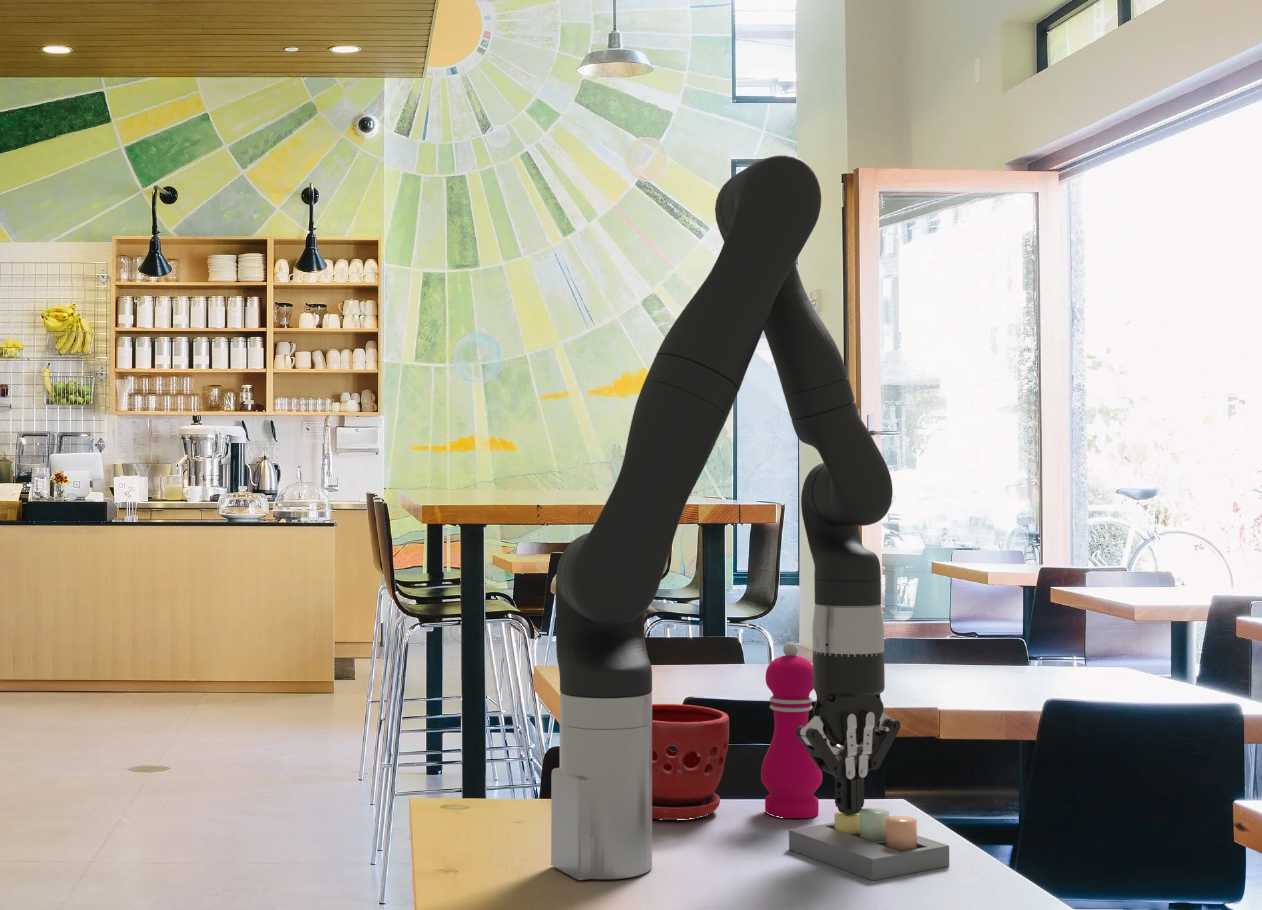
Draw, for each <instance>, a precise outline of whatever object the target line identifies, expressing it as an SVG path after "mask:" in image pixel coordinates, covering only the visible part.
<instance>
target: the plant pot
mask: <svg viewBox="0 0 1262 910" xmlns="http://www.w3.org/2000/svg"><path fill="white" fill-rule="evenodd" d="M729 739H730V717H729V714H728V713H727V712H724V711H721V710H719V709H715V708H712V707H707V706H706V707H705V706H699V705H692V704H682V703H681V704H679V703H677V704H676V703H652V820H653V819H662V820H677V819H689V818H697V817H700V816H705V815H707V814H709V815H711V814H713V813H714V812H715V811H716V810H717V809H718V808H719V806H720V803H721V797H720V796H719V795H718V793H715V792H716V790H717V788H718V786H719V784H720V783H721V780H722V777H723V774H724V770H725V763H726V758H727V753H728V750H729V749H728V748H729V742H730V741H729ZM670 747H675V748H676V750H675V751H674V750H673V751H672V749H670ZM712 812H713V813H712ZM710 813H711V814H710ZM707 816H708V815H707ZM705 817H706V816H705ZM662 820H661V821H662Z"/></svg>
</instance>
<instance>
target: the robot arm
mask: <svg viewBox="0 0 1262 910" xmlns="http://www.w3.org/2000/svg"><path fill="white" fill-rule="evenodd" d="M816 175H817V174H816V173H815V171H814V170H813V169H812V168H811V166H810V165H809V164H808V163H807V162H806V161H804V160H803V159H800V158H798V157H796V156H793V155H787V154H783V155H780V154H779V155H772V156H769V157H766V158H762V159H761V160H759V161H756V162H754V163H752V164H751V165H749V166H747V167H746V168H744V169H742V170H741V171H739V172H737V173H736V174H735V175H733V176H732V177H730V178H729V179H728V180H727V181H726V182H725V183H724V184H723V186H722V187H721V189H720V190H719V192H718V195H717V197H716V200H715V207H714V213H715V221H716V224H717V227H718V231H719V232H720V236H721V237H722V241H723V245H722V247H721V249H720V252H719V254H718V257H717V259H716V260H715V263H714V265H713V266H712V268H711V271H710V272H709V274H708V275H707V277H706V278H705V280H704V281H703V283H702V284H701V286H700V287H698V289H697V290H696V292H695V293H694V295H693V296H692V298H691V299H690V300H689V302H688V303H687V304H686V305H685V306H684V308H683V310H682V311H681V313H680V314H679V316H678V317H677V318H676V320H675V321H674V323H673V324H672V326H671V327H670V329H669V331H668V332H667V334H666V335H665V337H664V339H663V340H662V342H661V344H660V346H659V349H658V351H657V352H656V354H655V356H654V359H653V361H652V364H651V366H650V368H649V370H648V372H647V375H646V377H645V380H644V381H643V384H642V386H641V389H640V392H639V394H638V397H637V400H636V403H635V406H634V410H633V414H632V418H631V422H630V426H629V431H628V436H627V442H626V447H625V451H624V456H623V461H622V465H621V468H620V471H619V474H618V477H617V479H616V482H615V484H614V486H613V489H612V490H611V492H610V494H609V496H608V498H607V500H606V502H605V505H604V506H603V508H602V511H601V512H600V514H599V515H598V517H597V519H596V521H595V523H594V524H593V526H592V527H591V529H590V531H589V532H588V533H583V534H582V535H579V536H578V537H576V538H575V539H573V541H571V542H570V543H569V544H568V545H567V547H565V549H564V551H563V552H562V553H561V556H560V557H559V560H558V564H557V568H556V575H555V643H556V644H555V648H556V649H555V650H556V660H557V665H558V672H559V674H558V675H559V691H560V692H559V767H555V768H553V769H552V770H551V775H550V776H551V786H550V787H551V789H550V790H551V791H550V792H551V796H550V797H551V798H550V801H551V806H550V810H551V817H550V818H551V819H550V822H551V823H550V825H551V826H550V827H551V829H550V831H551V832H550V837H551V838H550V839H551V840H550V841H551V842H550V866H552V867H554V868H555V869H556V870H559V871H561V872H563V873H565V874H566V875H568V876H570V877H572V878H573V879H576V880H578V881H584V880H619V879H628V878H633V877H638V876H641V875H644V874H646V873H648V872H649V871H651V869H652V868H653V847H654V846H653V819H652V704H653V669H652V663H651V661H650V658H649V655H648V650H647V645H646V635H645V612H646V611H647V610H648V608H649V607H650V605H651V604H652V603H653V601H654V599H655V598H656V596H657V593H658V591H659V588H660V585H661V581H662V578H663V574H664V571H665V568H666V565H667V561H668V558H669V556H670V552H671V549H672V546H673V542H674V539H675V535H676V533H677V529H678V527H679V523H680V520H681V517H682V515H683V513H684V509H685V508H686V504H687V502H688V500H689V497H690V496H691V494H692V491H693V490H694V487H695V486H696V484H697V482H698V480H699V478H700V476H701V475H702V473H703V470H704V469H705V466H706V464H707V462H708V460H709V458H710V456H711V454H712V451H713V449H714V447H715V445H716V443H717V441H718V438H719V436H720V434H721V433H722V430H723V428H724V426H725V423H726V421H727V419H728V417H729V415H730V412H731V410H732V408H733V406H734V403H735V401H736V399H737V395H738V393H739V391H740V389H741V386H742V384H743V381H744V379H745V376H746V373H747V371H748V367H749V366H750V363H751V361H752V359H753V356H754V353H755V352H756V349H757V346H758V344H759V342H760V340H761V336H762V335H763V333H764V336H765V339H766V341H767V344H768V347H769V350H770V353H771V355H772V359H773V362H774V365H775V368H776V372H777V374H778V378H779V383H780V385H781V389H782V393H783V395H784V399H785V402H786V405H787V410H788V412H789V417H790V419H791V424H792V427H793V430H794V432H795V435H796V437H797V438H798V439H799V441H800V442H802V443H803V444H806V445H809V446H811V447H812V448H814V449H816V451H817V452H818V453H819V456H820V458H821V460H822V462H821V463H818V464H817V465H815V466H814V467H813V468H812V469H811V470H810V471H809V472H808V473H807V476H805V477H806V478H805V479H804V482H803V486H802V489H801V495H800V496H801V498H800V505H801V506H800V507H801V508H800V509H801V513H802V514H801V515H802V520H803V525H804V529H805V533H806V537H807V542H808V547H809V550H810V551H809V552H810V553H811V557H812V560H813V561H812V562H813V565H814V566H813V567H814V574H813V575H814V576H813V577H814V581H813V582H814V611H813V619H812V631H811V632H812V635H811V636H812V665H813V688H814V689H813V690H814V692H815V695H816V701H815V704H814V707H813V708H812V710H813V711H812V712H813V713H812V714H813V717H812V718H811V720H809V721H808V724H807V725H806V726H798V727H797V729H796V735H797V737H798V738H799V740H800V741H801V743H802V744H803V746H804V747H805V748H806V750H807V751H808V753H809V754H810V756H811V757H812V759H813V760H814V762H815V763H816V765H817V766H818V768H819V769H820V770H821V771H823V772H825V773H828V774H831V775H832V776H833V777H834V803H835V807H836V808H837V809H838V812H841V813H844V814H847V815H852V814H858V813H859V810H861V809H863V808H864V805H865V777H866V776H867V775H868V772H870V771H872V770H874V771H875V770H876V771H877V770H879V768H880V767H881V765H882V763H883V762H884V759H885V758H886V756H887V753H888V752H889V750H890V749H891V746H892V745H893V743H894V741H895V739H896V737H897V735H898V733H899V731H900V729H901V727H902V726H901V723H900V720H896V719H893V718H891V717H890V716H888V715H887V714H886V712H884V709H885V706H884V703H883V702H882V698H881V694H882V693H883V692H885V686H886V685H885V684H886V682H885V680H886V677H885V628H884V627H885V625H884V624H885V623H884V619H883V612H882V576H881V575H882V573H881V564H880V559H879V557H878V555H877V554H876V553H875V552H874V551H871V550H869V549H868V548H866V547H864V545H863V544H862V539H861V534H860V530H859V527H862V526H863V527H864V526H870V525H873V524H876V523H878V522H879V521H882V519H884V517H885V516H886V515H887V514H888V512H889V511H890V508H891V505H892V500H893V495H894V494H893V481H892V478H891V477H892V476H891V473H890V471H889V467H888V465H887V463H886V460H885V459H884V457H883V455H882V453H881V451H880V449H879V448H878V445H877V444H876V441H875V440H874V439H873V437H872V435H871V433H870V431H869V429H868V428H867V426H866V425H865V423H864V421H863V420H862V419H861V417H860V415H859V412H858V407H857V404H856V401H855V396H854V393H853V390H852V389H853V388H852V385H851V382H850V378H849V375H848V373H847V368H846V365H845V363H844V360H843V357H842V354H841V352H840V350H839V348H838V346H837V344H836V342H835V340H834V338H833V336H832V335H831V333H830V332H829V330H828V328H827V327H826V325H825V323H824V322H823V321H822V319H821V317H820V316H819V314H818V312H817V311H816V310H815V308H814V306H813V304H812V301H810V299H809V296H808V294H807V291H806V290H805V288H804V284H803V282H802V280H801V277H800V273H799V270H798V267H797V259H798V258H799V256H800V254H801V252H802V251H803V248H804V247H805V245H806V243H807V242H808V240H809V239H810V236H811V234H812V233H813V230H814V229H815V227H816V225H817V222H818V219H819V216H820V212H821V208H822V192H821V187H820V182H819V179H818V177H817V176H816ZM825 739H826V740H825Z"/></svg>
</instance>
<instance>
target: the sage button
mask: <svg viewBox="0 0 1262 910" xmlns="http://www.w3.org/2000/svg"><path fill="white" fill-rule="evenodd" d="M859 817H860V838H861V839H864V840H867V841H870V842H878V841H884V840H886V818H887V817H890V811H889V810H888V809H884V808H878V807H877V808H876V807H863V808H862V809H861V810H859Z"/></svg>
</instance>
